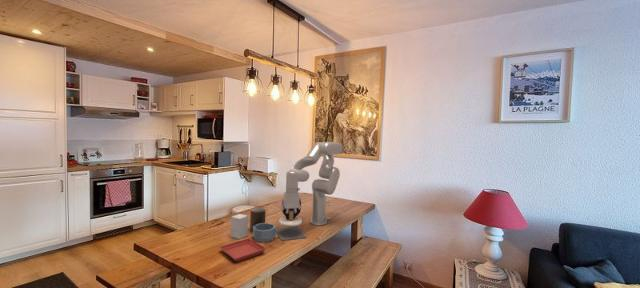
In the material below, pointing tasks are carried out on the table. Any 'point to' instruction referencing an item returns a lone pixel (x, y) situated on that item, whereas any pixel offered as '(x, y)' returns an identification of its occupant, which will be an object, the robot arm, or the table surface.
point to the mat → (290, 233)
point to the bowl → (264, 232)
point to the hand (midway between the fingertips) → (290, 218)
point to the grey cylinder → (257, 217)
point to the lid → (290, 220)
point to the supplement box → (239, 226)
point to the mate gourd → (293, 209)
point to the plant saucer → (242, 249)
